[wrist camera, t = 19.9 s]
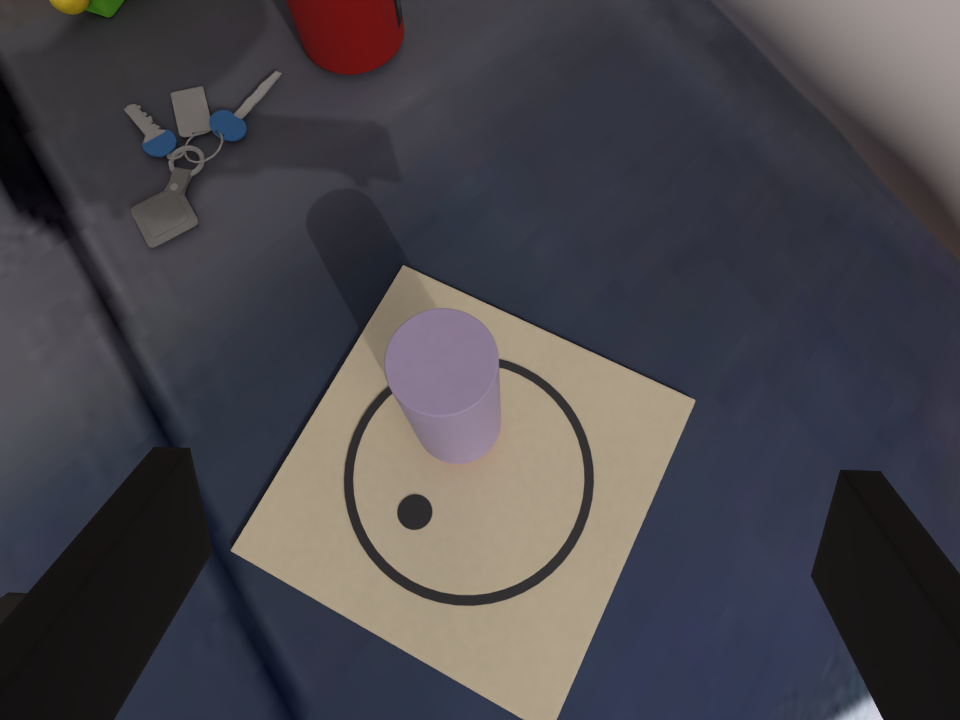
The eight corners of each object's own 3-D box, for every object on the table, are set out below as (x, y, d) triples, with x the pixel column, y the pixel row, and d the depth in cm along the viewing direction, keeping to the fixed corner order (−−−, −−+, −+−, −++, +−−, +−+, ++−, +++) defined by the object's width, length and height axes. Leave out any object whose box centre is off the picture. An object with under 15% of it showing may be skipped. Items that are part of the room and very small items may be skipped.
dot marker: (515, 409, 37) (518, 336, 27) (477, 483, 36) (465, 436, 26) (443, 373, 38) (418, 289, 28) (403, 445, 37) (362, 385, 26)
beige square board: (694, 402, 37) (697, 398, 37) (549, 733, 33) (550, 735, 32) (404, 267, 41) (402, 263, 40) (232, 551, 36) (228, 550, 35)
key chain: (181, 260, 41) (175, 253, 41) (64, 219, 43) (56, 211, 42) (285, 78, 45) (281, 69, 45) (175, 45, 47) (170, 36, 46)
